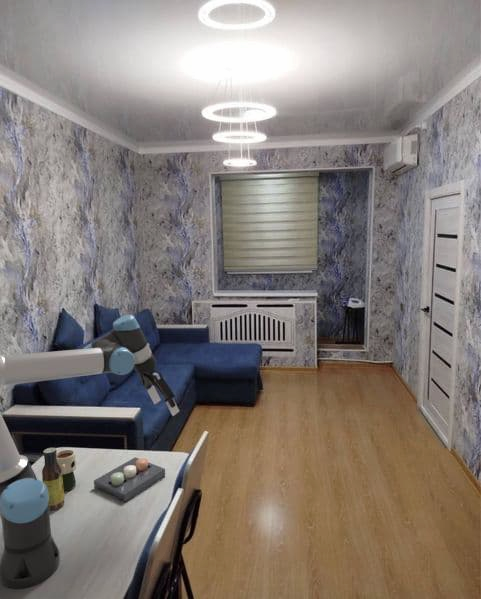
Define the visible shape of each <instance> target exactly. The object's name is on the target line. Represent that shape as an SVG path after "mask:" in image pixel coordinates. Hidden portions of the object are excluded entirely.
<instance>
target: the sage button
mask: <svg viewBox="0 0 481 599" xmlns="http://www.w3.org/2000/svg"><path fill="white" fill-rule="evenodd" d="M122 484H124V474H123V473H121V472H117V473H114V474H112V475H111V485H112V486H115V487H119V486H120V485H122Z"/></svg>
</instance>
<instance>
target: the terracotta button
mask: <svg viewBox="0 0 481 599" xmlns="http://www.w3.org/2000/svg"><path fill="white" fill-rule="evenodd" d="M147 469H148V459H147V458H138V460H137V461H136V470H138V471H140V472H143V471H145V470H147Z"/></svg>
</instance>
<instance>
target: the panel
mask: <svg viewBox="0 0 481 599" xmlns="http://www.w3.org/2000/svg"><path fill="white" fill-rule="evenodd" d="M138 459H139V458H138V457H135V456H134V457H133V458H131V459H130V460H128V461H125V462H124V463H122V464H121V465H119V466H117V467H115V468H114V469H111V470H110V471H109V472H106V473H105V474H103V475H101V476H99V477H97V478H96V479H94V480H93V485H94V486H93V488H94V489H95V490H97V491H100V492H101V493H104V494H106V495H107V496H110V497H112V498H115V499H116V500H118V501H121V502H123V503H126V502H128V501H130V500H132V498H134V497H136V496H137V495H139V494H140V493H142V492H144V491H145V490H146V489H148V488H150V487H151V486H152V485H154V484H155V483H157V482H159V481H160V480H161V479H163V478H165V477H166V468H164V467H162V466H158V465H156V464H154V463H151V462H148V469H147V470H145V471H143V472H140V471H138V470H136V476H135V477H133V478H132V479H130V480H129V479H127V478H125V477H124V484H122V485H120V486H119V487H115V486H112V485H111V475H112V474H114V473H117V472H121V473H123V474H124V468H125V467H126V466H129V465H134V466H136V461H137V460H138Z"/></svg>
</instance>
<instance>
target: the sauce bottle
mask: <svg viewBox="0 0 481 599" xmlns="http://www.w3.org/2000/svg"><path fill="white" fill-rule="evenodd" d="M57 452H58V450H57V448H56V447H48V448H46V449H44V450H43V459H44V465H43V468H42V470H41V474H42V477H41V478H42V479H41V481H42V482H43V483H44V484H45V485H46V487H47V491H48V493H49V511H53V510H54V511H55V510H57V509H60V508H61V507H63V505H64V504H65V492H64V491H65V490H64V488H63V478H62V469H61V467H60V465H59V463H58V461H57V457H56V453H57Z"/></svg>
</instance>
